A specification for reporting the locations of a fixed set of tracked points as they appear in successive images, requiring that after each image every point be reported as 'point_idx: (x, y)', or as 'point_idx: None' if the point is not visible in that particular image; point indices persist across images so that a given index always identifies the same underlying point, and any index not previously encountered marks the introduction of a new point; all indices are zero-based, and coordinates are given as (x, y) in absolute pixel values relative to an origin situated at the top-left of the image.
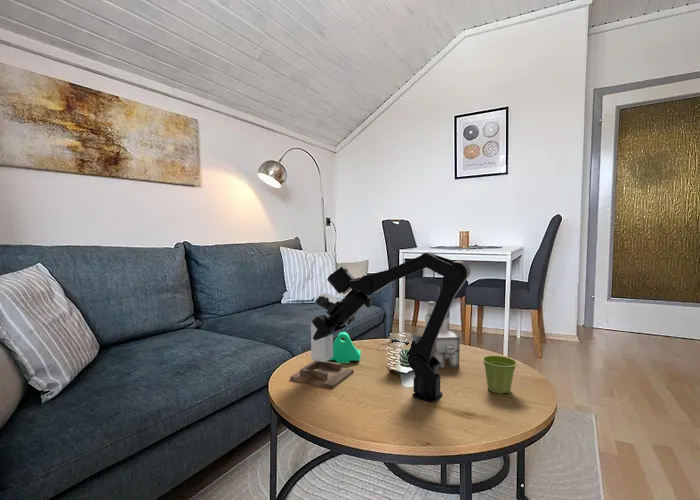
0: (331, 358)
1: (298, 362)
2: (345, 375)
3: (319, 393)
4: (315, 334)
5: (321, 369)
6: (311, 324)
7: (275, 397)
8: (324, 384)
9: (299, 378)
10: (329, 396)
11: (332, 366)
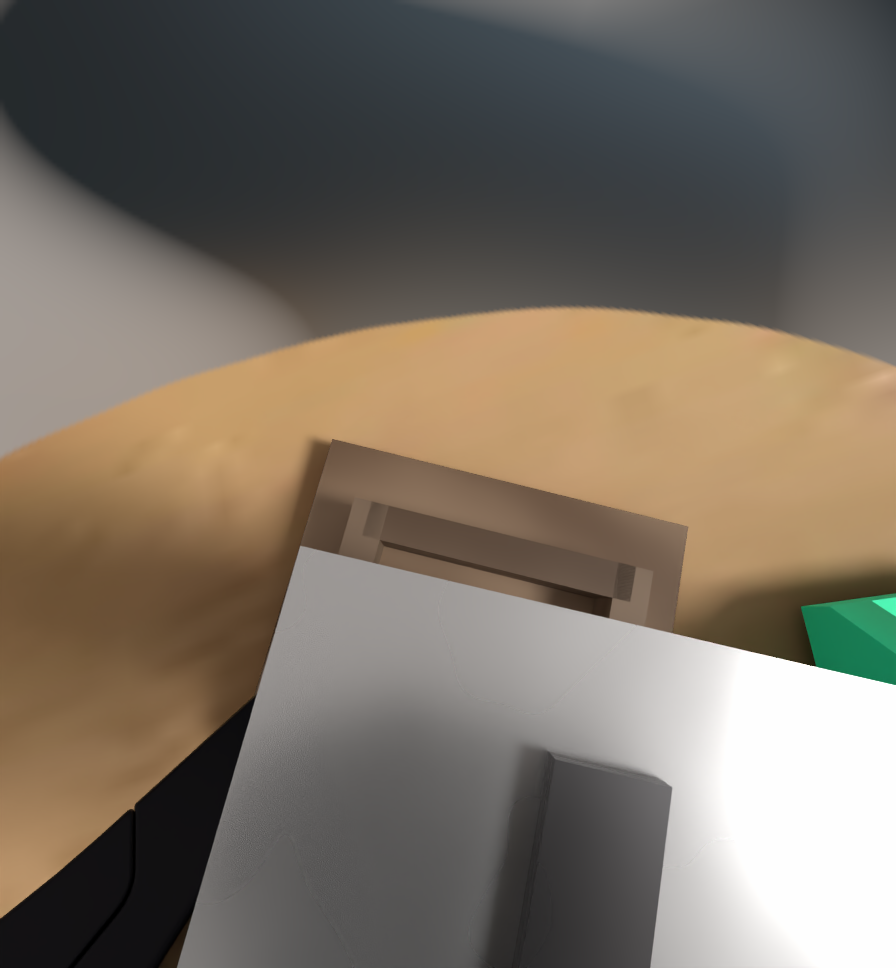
0: (826, 665)
1: (707, 384)
2: None
3: (109, 761)
4: (226, 732)
5: None
6: (304, 575)
7: (15, 455)
8: None
9: (309, 522)
10: (57, 866)
11: None
